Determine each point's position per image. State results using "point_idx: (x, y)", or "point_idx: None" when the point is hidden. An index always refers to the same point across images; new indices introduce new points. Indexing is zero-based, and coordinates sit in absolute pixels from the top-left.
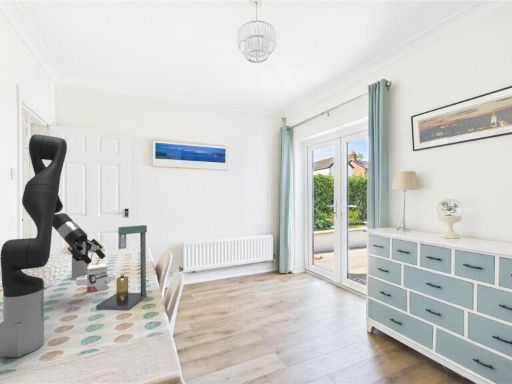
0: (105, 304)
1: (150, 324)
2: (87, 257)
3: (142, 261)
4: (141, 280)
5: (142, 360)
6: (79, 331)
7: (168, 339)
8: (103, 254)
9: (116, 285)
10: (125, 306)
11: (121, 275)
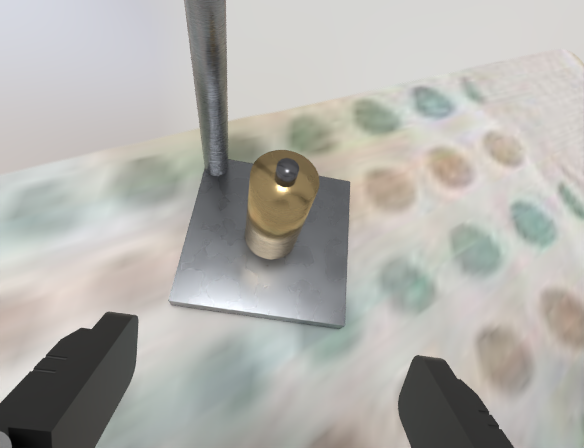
0: (333, 285)
1: (431, 107)
2: (477, 419)
3: (224, 8)
4: (226, 122)
5: (558, 95)
6: (507, 285)
7: (484, 65)
8: (116, 331)
9: (296, 224)
10: (349, 194)
11: (291, 171)
